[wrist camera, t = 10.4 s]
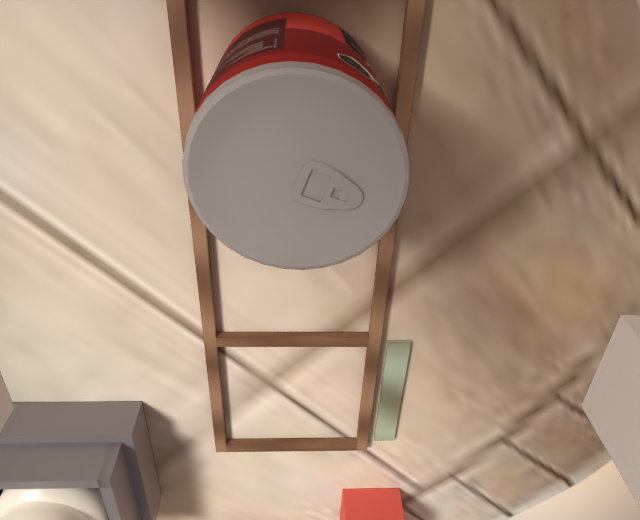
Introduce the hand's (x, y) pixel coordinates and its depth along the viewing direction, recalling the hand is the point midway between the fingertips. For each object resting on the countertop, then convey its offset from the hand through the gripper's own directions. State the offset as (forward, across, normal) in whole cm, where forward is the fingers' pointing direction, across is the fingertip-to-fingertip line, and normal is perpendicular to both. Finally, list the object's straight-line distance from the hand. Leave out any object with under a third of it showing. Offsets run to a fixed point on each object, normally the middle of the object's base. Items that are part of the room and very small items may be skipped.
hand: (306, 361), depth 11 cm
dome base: (+20, +17, +29) cm, 39 cm away
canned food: (+20, 0, 0) cm, 20 cm away
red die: (+20, -7, +37) cm, 42 cm away
